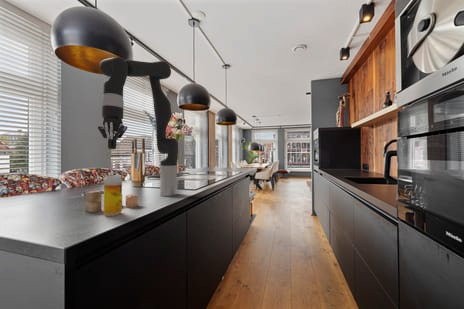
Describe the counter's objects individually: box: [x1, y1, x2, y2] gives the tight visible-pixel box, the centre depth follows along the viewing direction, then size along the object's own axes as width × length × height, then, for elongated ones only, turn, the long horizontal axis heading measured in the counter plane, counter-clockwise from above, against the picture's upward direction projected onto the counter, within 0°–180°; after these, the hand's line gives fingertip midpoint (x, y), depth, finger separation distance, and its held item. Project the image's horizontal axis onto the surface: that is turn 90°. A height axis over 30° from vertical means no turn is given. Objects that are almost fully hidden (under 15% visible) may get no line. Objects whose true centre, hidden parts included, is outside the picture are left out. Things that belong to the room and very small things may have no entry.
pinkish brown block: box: [125, 193, 139, 209], centre depth 93 cm, size 5×5×5 cm
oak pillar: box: [84, 190, 103, 213], centre depth 85 cm, size 4×4×8 cm
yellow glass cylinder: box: [103, 174, 123, 217], centre depth 80 cm, size 6×6×15 cm
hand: (112, 149), depth 83 cm, fingers closed
